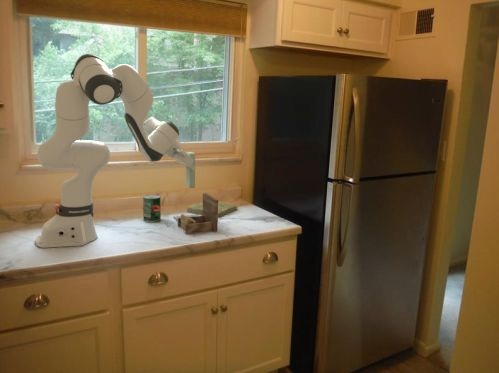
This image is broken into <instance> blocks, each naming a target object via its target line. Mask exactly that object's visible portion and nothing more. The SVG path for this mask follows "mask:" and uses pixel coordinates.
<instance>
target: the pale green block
mask: <svg viewBox="0 0 499 373" xmlns="http://www.w3.org/2000/svg"><path fill="white" fill-rule="evenodd" d="M185 153H186V154H187V155H189V156H190V157H191V158H192V159H193V161H194V162H193V166H194V167H195V168H196V153H195V152H193V151H185ZM185 186H186V187H187V188H188V189H195V188H196V169H195V170H194V171H193V170H191V169H190V168H189V167H188V166H185Z"/></svg>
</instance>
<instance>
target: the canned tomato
mask: <svg viewBox="0 0 499 373" xmlns="http://www.w3.org/2000/svg"><path fill="white" fill-rule="evenodd" d="M161 197H162V196H161V195H159V194H145V195H143V196H142V198H143V200H142V201H143V202H142V204H143V211H142V212H143V213H142V214H143V221H145V222H158V221H161V219H162V218H161V214H162V211H161V208H162V207H161V204H162V203H161Z"/></svg>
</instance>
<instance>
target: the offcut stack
mask: <svg viewBox="0 0 499 373" xmlns="http://www.w3.org/2000/svg"><path fill="white" fill-rule="evenodd" d="M185 215H186V214H180V216H181V227H180V228H181V229H182V230H183V231H185V224H195V223H196V221H195V220H193V219H192V218H191V217H187V216H185Z"/></svg>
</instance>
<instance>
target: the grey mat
mask: <svg viewBox="0 0 499 373" xmlns="http://www.w3.org/2000/svg"><path fill="white" fill-rule="evenodd" d="M184 215H185V216H187V217H193V216H200V215H198V214H187V215H186V214H184ZM178 218H181V215H176V216H173V219H174V220H175V221H177V222H178Z"/></svg>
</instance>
